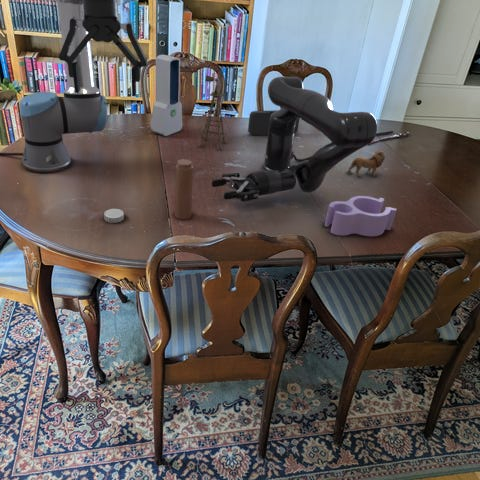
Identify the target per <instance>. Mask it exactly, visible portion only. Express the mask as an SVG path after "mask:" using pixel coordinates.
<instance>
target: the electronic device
mask: <svg viewBox="0 0 480 480" xmlns="http://www.w3.org/2000/svg"><path fill="white" fill-rule="evenodd" d="M180 82H181V58H179V57H176V56H173V55H167V54H159V55H158V56H156V57H155V101H154V103H153V105H152V110H151V111H152V113H151V119H150V125H149V126H150V128H151V131H152V132H153V133H154V134H157V135H160V136H163V137H168V136H171V135H172V134H175V133H178V132H180V131H182V129H183V107H182V106H183V104H182V102H181V101H180V92H181V91H180V89H181V86H180V85H181V83H180Z"/></svg>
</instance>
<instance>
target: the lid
mask: <svg viewBox="0 0 480 480" xmlns="http://www.w3.org/2000/svg"><path fill="white" fill-rule="evenodd" d="M124 219H125V213H124V211H123V210H122V209H119V208H109V209H107V210H105V211H104V212H103V220H104V221H105V222H107V223H113V224H115V223H121V222H122V221H123V220H124Z"/></svg>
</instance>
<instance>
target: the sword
mask: <svg viewBox="0 0 480 480" xmlns="http://www.w3.org/2000/svg"><path fill="white" fill-rule="evenodd" d="M401 134H402V133H396V134H392V135H389V136H383V137H379V138H376V139H374V140H373V141H372V142H371V143H370V144H368V145H372V144H373V143H377V142H381V141H384V140H389V139H393V138H400V137H402V136H406V135H409V134H404V135H401ZM368 145H367V146H368Z"/></svg>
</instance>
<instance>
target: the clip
mask: <svg viewBox="0 0 480 480" xmlns="http://www.w3.org/2000/svg"><path fill="white" fill-rule="evenodd" d="M384 201H385V198H383V197H379V198H376V197H373V196H368V195H357V196H352V197H350V198H349V200H347V201H339V200H338V201H337V200H335V201H332V202H330V203H329V205H328V208H327V214H326V218H325V222H324V227H326V228H329V227H330V226H331V227H330V233H331V234H333V235H336V236H348V235H353V234H356V235H360V236H364V237H365V236H366V237H378V236H381V235H382V234H384V232H385V230H387V231H391V229H392V226H393V222H394V219H395V216H396V213H397V210H398V209H397V208H395V207H391V206H385V207H384V211H383V212H382V209H383V206H384Z"/></svg>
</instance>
